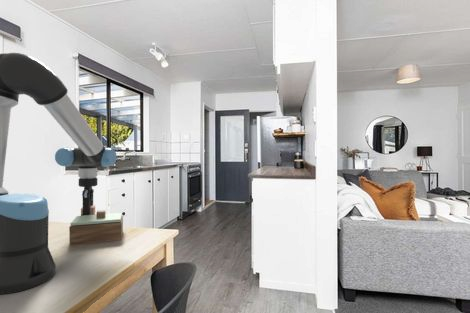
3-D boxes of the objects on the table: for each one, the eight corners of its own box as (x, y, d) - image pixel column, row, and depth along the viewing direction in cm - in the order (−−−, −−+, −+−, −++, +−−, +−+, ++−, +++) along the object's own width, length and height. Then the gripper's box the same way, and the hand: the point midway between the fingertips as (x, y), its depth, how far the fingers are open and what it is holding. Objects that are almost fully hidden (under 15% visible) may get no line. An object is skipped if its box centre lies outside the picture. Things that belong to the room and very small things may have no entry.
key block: (93, 229, 116) (93, 207, 116) (80, 230, 114) (80, 208, 114) (95, 226, 120) (95, 205, 120) (83, 227, 119) (83, 206, 118)
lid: (120, 221, 103) (120, 213, 103) (70, 225, 97) (70, 216, 97) (122, 215, 114) (122, 207, 114) (77, 218, 107) (77, 210, 107)
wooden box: (121, 239, 103) (121, 222, 103) (69, 245, 96) (69, 226, 96) (122, 230, 114) (122, 215, 114) (76, 235, 108) (76, 218, 107)
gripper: (94, 179, 110) (94, 232, 110) (99, 175, 126) (99, 221, 127) (74, 179, 107) (74, 234, 107) (82, 175, 124) (82, 223, 124)
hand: (88, 227), depth 117 cm, fingers closed on key block, 5 cm apart
